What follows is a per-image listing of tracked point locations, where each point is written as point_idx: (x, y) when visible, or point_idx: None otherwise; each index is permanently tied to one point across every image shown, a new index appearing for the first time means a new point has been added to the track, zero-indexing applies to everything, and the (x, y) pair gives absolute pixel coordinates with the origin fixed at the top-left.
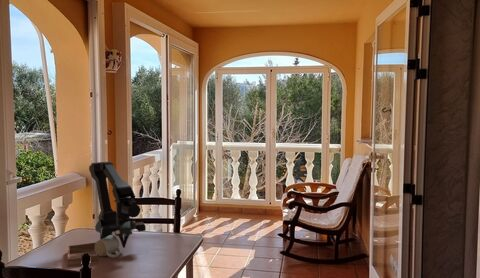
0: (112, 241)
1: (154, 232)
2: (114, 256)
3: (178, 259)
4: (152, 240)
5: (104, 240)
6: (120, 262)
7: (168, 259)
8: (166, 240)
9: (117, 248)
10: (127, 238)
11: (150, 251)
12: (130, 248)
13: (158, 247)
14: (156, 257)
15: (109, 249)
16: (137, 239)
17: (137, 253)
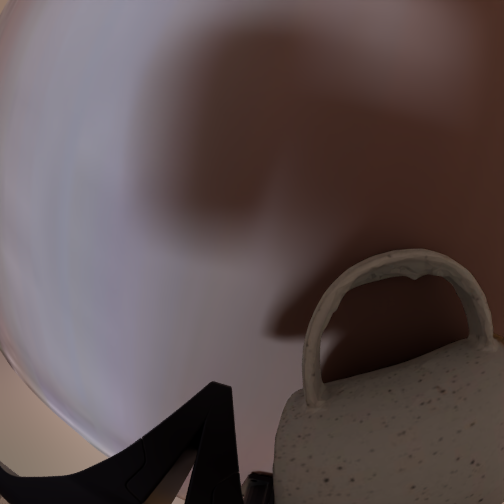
0: (394, 500)
1: (67, 421)
2: (419, 249)
3: (10, 9)
4: (52, 372)
5: (496, 501)
6: (396, 42)
7: (27, 8)
8: (6, 321)
9: (317, 394)
10: (112, 460)
11: (37, 209)
12: (162, 378)
13: (11, 255)
14: (42, 50)
15: (467, 373)
16: (120, 433)
17: (117, 225)
